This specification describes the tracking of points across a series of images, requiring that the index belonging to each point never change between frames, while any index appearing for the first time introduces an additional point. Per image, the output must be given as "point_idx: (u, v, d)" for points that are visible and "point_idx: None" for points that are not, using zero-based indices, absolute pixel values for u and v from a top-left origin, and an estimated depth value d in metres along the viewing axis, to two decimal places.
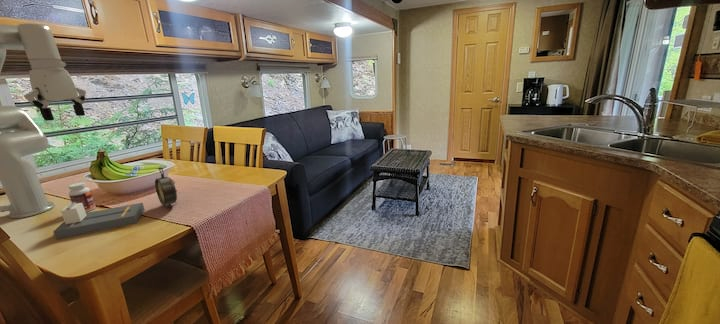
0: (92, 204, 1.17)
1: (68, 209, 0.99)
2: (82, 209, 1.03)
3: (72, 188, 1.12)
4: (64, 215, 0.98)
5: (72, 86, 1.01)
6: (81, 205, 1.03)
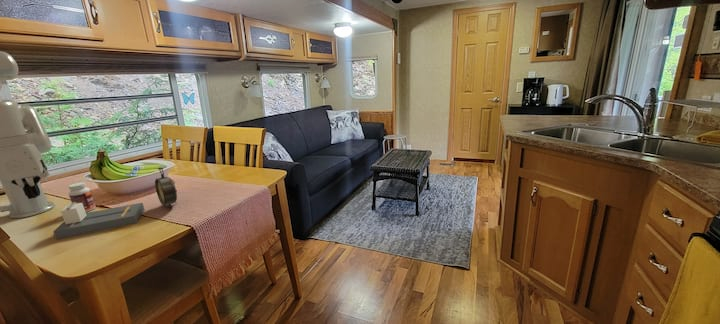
0: (92, 204, 1.17)
1: (68, 209, 0.99)
2: (82, 209, 1.03)
3: (72, 188, 1.12)
4: (64, 215, 0.98)
5: None
6: (81, 205, 1.03)
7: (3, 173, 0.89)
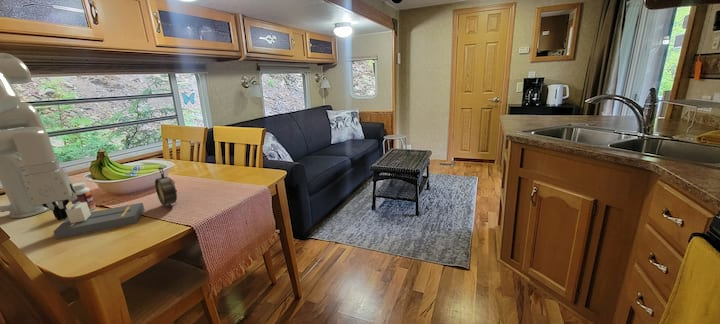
0: (92, 204, 1.17)
1: (73, 208, 0.99)
2: (86, 208, 1.04)
3: None
4: (68, 214, 0.99)
5: None
6: (85, 204, 1.03)
7: (35, 197, 0.94)
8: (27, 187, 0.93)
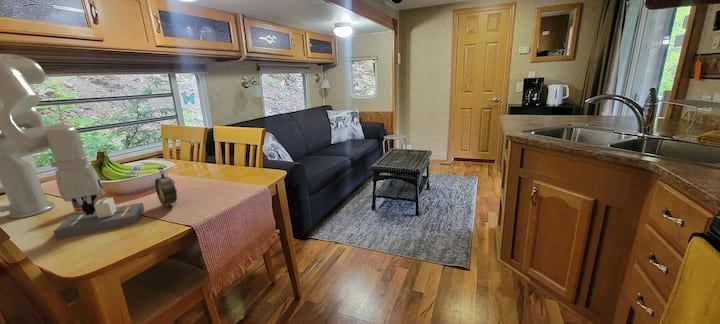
0: None
1: (101, 203, 1.02)
2: (113, 203, 1.06)
3: None
4: (96, 209, 1.02)
5: None
6: (112, 200, 1.06)
7: (66, 193, 0.97)
8: (58, 183, 0.96)
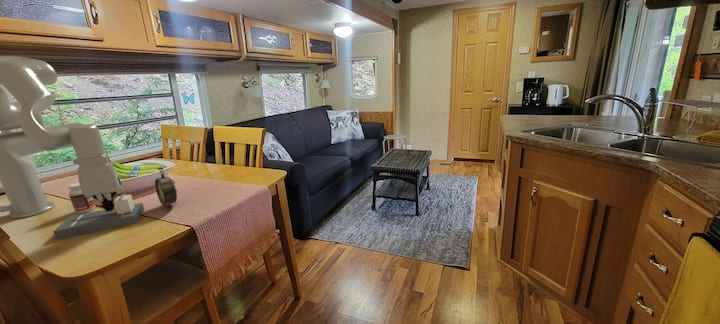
0: (92, 204, 1.17)
1: (120, 200, 1.04)
2: (131, 200, 1.09)
3: (72, 188, 1.12)
4: (116, 206, 1.04)
5: None
6: (130, 196, 1.08)
7: (87, 189, 0.99)
8: (79, 180, 0.98)
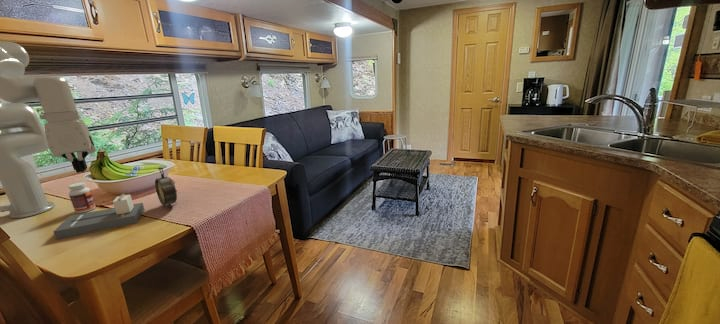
0: (92, 204, 1.17)
1: (119, 200, 1.04)
2: (130, 200, 1.08)
3: (72, 188, 1.12)
4: (115, 206, 1.04)
5: None
6: (129, 197, 1.08)
7: (55, 147, 0.93)
8: (47, 136, 0.92)
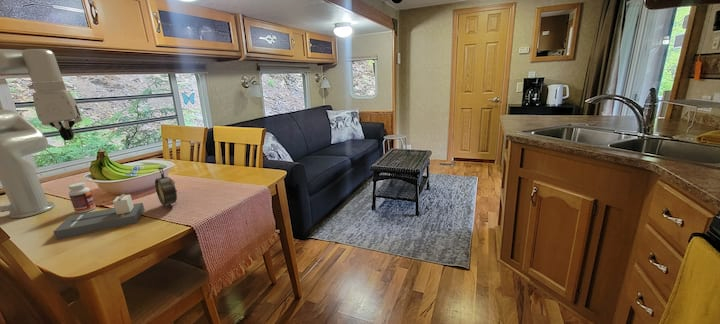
0: (92, 204, 1.17)
1: (119, 200, 1.04)
2: (130, 200, 1.08)
3: (72, 188, 1.12)
4: (115, 206, 1.04)
5: None
6: (129, 197, 1.08)
7: (43, 115, 1.00)
8: (35, 104, 0.99)
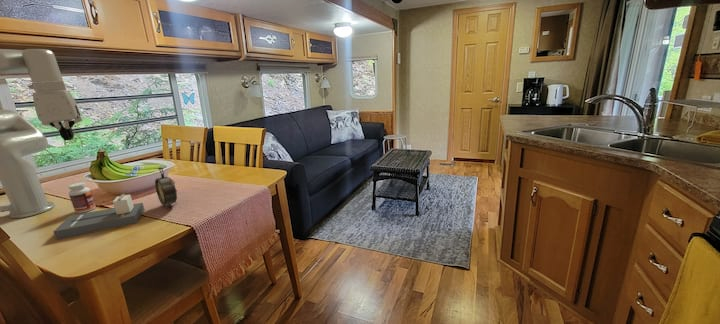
0: (92, 204, 1.17)
1: (119, 200, 1.04)
2: (130, 200, 1.08)
3: (72, 188, 1.12)
4: (115, 206, 1.04)
5: None
6: (129, 197, 1.08)
7: (43, 115, 1.00)
8: (35, 104, 0.99)
